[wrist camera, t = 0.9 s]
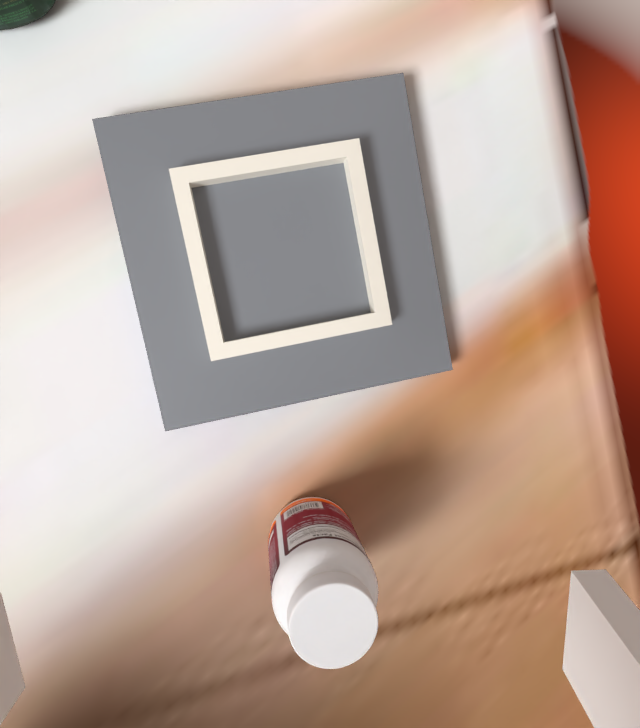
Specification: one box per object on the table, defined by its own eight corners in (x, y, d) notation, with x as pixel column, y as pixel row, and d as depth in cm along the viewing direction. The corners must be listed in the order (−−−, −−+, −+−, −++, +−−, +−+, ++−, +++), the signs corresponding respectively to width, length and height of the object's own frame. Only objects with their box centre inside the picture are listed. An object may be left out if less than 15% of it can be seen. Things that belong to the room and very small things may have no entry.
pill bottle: (320, 591, 36) (346, 706, 25) (250, 548, 35) (247, 649, 25) (368, 522, 36) (416, 608, 25) (300, 477, 35) (318, 546, 25)
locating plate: (444, 367, 36) (459, 371, 33) (169, 426, 34) (161, 435, 31) (396, 83, 34) (408, 63, 31) (100, 128, 32) (85, 110, 29)
